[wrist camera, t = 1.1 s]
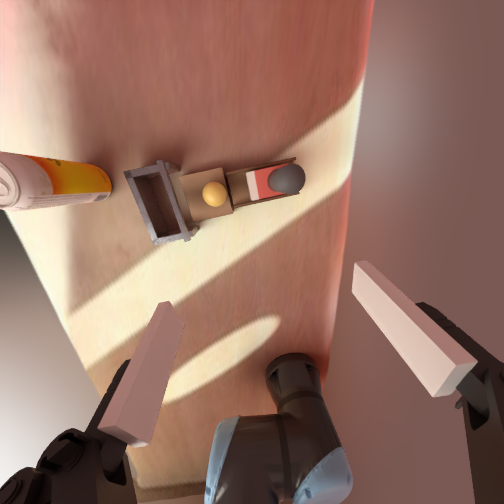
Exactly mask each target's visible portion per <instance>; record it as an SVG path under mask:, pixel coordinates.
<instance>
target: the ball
mask: <svg viewBox="0 0 504 504" xmlns="http://www.w3.org/2000/svg"><path fill="white" fill-rule="evenodd" d="M202 195H203V199H204V201H205V202H206V203H207V204H208V205H210V206H213V207H217V206H220V205H222V204H223V203H224V202H225V200H226V197H227V193H226V190H225V188H224V186H223V185H222V184H220V183H218V182H210V183H208V184H206V185H205V187H204V188H203V192H202Z"/></svg>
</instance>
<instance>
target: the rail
mask: <svg viewBox="0 0 504 504" xmlns="http://www.w3.org/2000/svg"><path fill="white" fill-rule="evenodd" d="M294 160H296V157H294V158H290V159H285V160H281V161H276V162H271V163H267V164H262V165H258V166H253V167H249V168H244V169H239V170H235V171H230V172H226V175H227V179H228V183H229V187H230V191H231V196H232V200H233V204H234V208H238V207H242V206H247V205H251V204H256V203H260V202H265V201H270V200H274V199H279V198H283V197H288V196H292V195H297V194H299V192H297V193H295V194H281V195H277V196H272V197H267V198H263V199H258V200H254V201H252V200H251V197H250V192H249V187H248V182H247V177H246V173H247V172H251V171H256V170H260V169H265V168H269V167H274V166H279V165H283V164H294V162H293V161H294Z"/></svg>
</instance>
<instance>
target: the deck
mask: <svg viewBox="0 0 504 504" xmlns="http://www.w3.org/2000/svg"><path fill="white" fill-rule="evenodd" d="M179 179H180V182H181V185H182V188H183V191H184V194H185V197H186V200H187V203H188V206H189V210H190V213H191V216H192V219H193V222H197V221H201V220H206V219H210V218H215V217H219V216H224V215H229V214H233V210H232V205H231V201H230V197H229V193H228V189H227V184H226V180H225V176H224V172H223V168H222V167H221V168H216V169H212V170H207V171H202V172H198V173H193V174H189V175H184V176H180V177H179ZM210 182H218V183H220V184H222V185H223V186H224V188H225V190H226V193H227V197H226V200H225V202H224V203H223V204H222V205H220V206H217V207H213V206H210V205H208V204H207V203H206V202H205V201H204V199H203V195H202V192H203V188H204V187H205V185H206V184H208V183H210Z"/></svg>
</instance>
